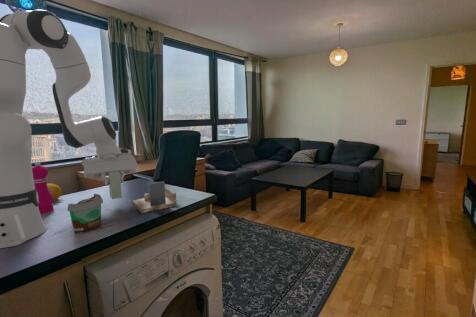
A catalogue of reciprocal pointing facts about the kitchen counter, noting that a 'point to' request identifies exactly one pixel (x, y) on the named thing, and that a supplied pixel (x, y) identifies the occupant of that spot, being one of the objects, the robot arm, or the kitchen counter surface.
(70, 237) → the kitchen counter surface
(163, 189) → the gray rectangular slab
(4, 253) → the kitchen counter surface
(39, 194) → the pepper mill
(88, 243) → the kitchen counter surface
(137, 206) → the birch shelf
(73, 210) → the food container
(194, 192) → the kitchen counter surface
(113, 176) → the pale green block
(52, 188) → the fruit
